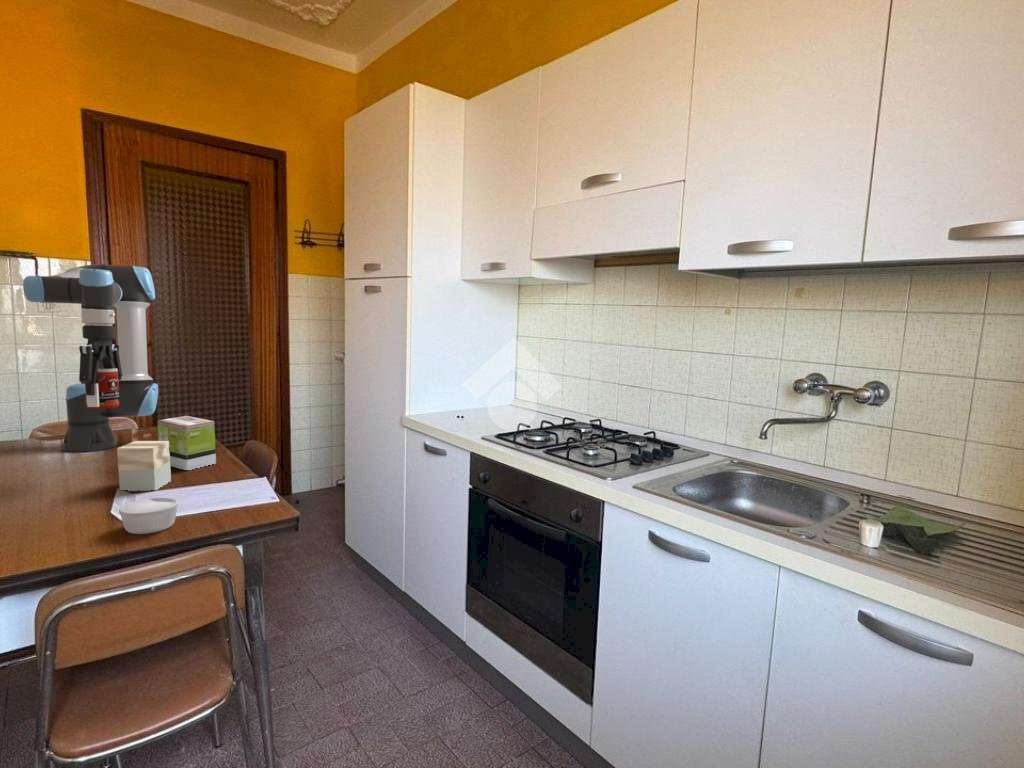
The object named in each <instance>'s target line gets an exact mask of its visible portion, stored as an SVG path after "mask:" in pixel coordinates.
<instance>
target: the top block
mask: <svg viewBox="0 0 1024 768" xmlns="http://www.w3.org/2000/svg"><path fill="white" fill-rule="evenodd" d="M116 451H117V453H116V454H117V467H118V468H117V470H118V471H119V470H155V469H156V468H158V467H160V466H162V465H164V464H166V463H168V462H169V461H170V453H169V441H159V440H134V441H131V442H129V443H127V444H125V445H122V446H119V447H118V448H116Z"/></svg>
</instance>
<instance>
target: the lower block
mask: <svg viewBox="0 0 1024 768" xmlns="http://www.w3.org/2000/svg"><path fill="white" fill-rule="evenodd" d="M171 472H172V471H171V466H170V461H169V462H168V463H166V464H164V465H162V466H160V467H158V468H156V469H155V470H118V482H119V483H118V486H119V491H120V490H128V491H127V492H150V491H151V490H156V491H157V490H158V489H161V488H162V487H164V486H166V485H167V484H169V483H170V482H171V481H172V473H171ZM168 482H169V483H168ZM163 485H164V486H163ZM160 487H161V488H160ZM138 490H139V491H138ZM151 492H152V491H151Z"/></svg>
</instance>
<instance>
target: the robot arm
mask: <svg viewBox="0 0 1024 768" xmlns="http://www.w3.org/2000/svg"><path fill="white" fill-rule="evenodd" d="M152 277H153V276H152V274H151V272H150V270H149V269H148V268H147V267H143V266H136V265H120V264H119V265H117V264H116V265H115V264H98V263H96V264H94V263H93V264H87V265H79V266H76V267H70V268H69V269H67V270H65V271H64V272H63V273H58V274H54V275H46V276H45V275H44V276H43V275H27V276H25V277H24V279H23V284H22V288H23V290H22V291H23V294H24V298H25V299H26V300H27V301H29V302H31V303H41V304H44V303H45V304H46V303H47V304H79V305H81V306H80V309H81V310H80V313H81V314H80V315H81V316H80V317H81V324H84V325H82V327H81V331H82V338H83V339H86V340H87V343H86V345H79V348H78V349H79V355H80V357H79V375H78V377H79V378H78V380H79V382H80V383H75V384H71V385H69V386H68V387H67V388H66V389H65V390H66V391H65V401H66V403H65V404H66V414H67V415H66V417H67V428H66V429H67V430H66V433H65V436H64V438H63V441H62V450H63V451H64V450H65V452H69V451H70V452H71V453H72V452H73V453H82V452H83V451H86V452H95V451H102V450H107V449H110V448H113V447H114V448H115V447H116V446H117V445H116V444H117V438H116V435H115V433H114V431H113V429H112V427H111V424H110V418H122V417H123V418H124V417H125V418H127V417H144V416H151V415H152V414H154V413H155V411H156V408H157V405H158V404H157V403H158V399H159V398H158V397H159V385H158V383H154V379H153V378H152V377H151V376H150V375H149V371H148V348H147V347H148V346H147V345H148V342H147V341H148V340H147V339H148V338H147V317H146V316H147V315H146V309H147V308H149V307H150V306H151V301H153V300H155V299H156V292H155V286H154V281H153V278H152ZM115 308H116V314H115ZM115 316H116V319H115ZM115 320H116V321H115ZM115 322H116V323H117V325H116V326H117V327H116V326H115V325H114V324H115ZM116 328H117V331H116ZM116 332H117V337H116ZM116 338H117V344H113V342H112V340H113V339H116ZM100 364H102V366H103V367H102V368H117V370H118V383H119V406H118V407H114V408H105V409H91V408H88V407H99V389H98V384H95V383H96V379H97V372H98V371H97V370H99V368H100ZM85 384H86V392H85ZM86 394H87V405H86Z"/></svg>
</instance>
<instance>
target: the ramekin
mask: <svg viewBox="0 0 1024 768" xmlns="http://www.w3.org/2000/svg"><path fill="white" fill-rule="evenodd" d="M178 508H179V501H178V500H177V499H175V498H169V497H151V498H150V497H149V498H144V499H139V500H134V501H131V502H128V503H125V504H123V505H121V507H119V509H118V513H119V515H120V517H121V521H122V524H123V528H124V529H125V531H127V532H128V533H130V534H134V535H143V534H145V535H147V534H151V533H152V534H153V533H157V532H161V531H164V530H166V529H169V528H170V527H172V526H173V525H174V524H175V521H176V517H177V510H178Z"/></svg>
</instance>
